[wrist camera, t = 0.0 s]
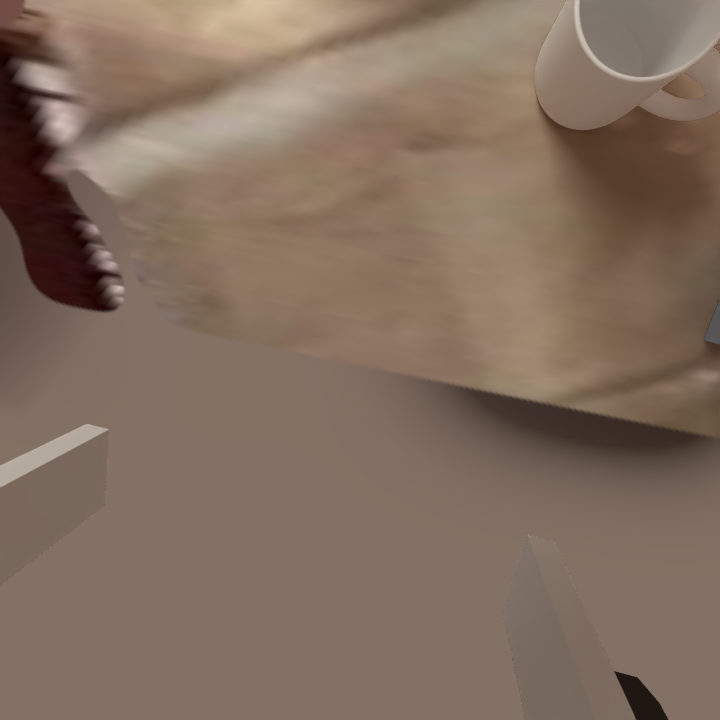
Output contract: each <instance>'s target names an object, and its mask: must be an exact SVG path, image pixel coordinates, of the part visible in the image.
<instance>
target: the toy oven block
mask: <svg viewBox="0 0 720 720" xmlns="http://www.w3.org/2000/svg"><path fill="white" fill-rule="evenodd" d="M704 340H706V341H709V342H712V343H716V344H719V345H720V300H719V302H718V305H717V308H716V310H715V313H714V315H713V318H712V320H711V323H710V326H709V328H708V331H707V333H706V336H705V339H704Z"/></svg>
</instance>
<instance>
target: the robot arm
mask: <svg viewBox="0 0 720 720" xmlns="http://www.w3.org/2000/svg"><path fill="white" fill-rule="evenodd" d="M108 435H109V430H108V429H104V428H101V427H97V426H93V425H89V424H86V425H84V426H82V427H79V428H77V429H76V430H73V431H71V432H69V433H67V434H65V435H63V436H61V437H59V438H57V439H55V440H53V441H51V442H49V443H47V444H44V445H42V446H40V447H38V448H36V449H34V450H32V451H30V452H28V453H26V454H24V455H22V456H19V457H17V458H15V459H13V460H11V461H9V462H7V463H5V464H3V465H1V466H0V585H1V584H3V583H4V582H5V581H7V580H8V579H9V578H11V577H12V576H13V575H14V574H16V573H17V572H19V571H20V570H21V569H22V568H24V567H25V566H26V565H28V564H29V563H30V562H32V561H33V560H34V559H35V558H37V557H38V556H39V555H41V554H42V553H43V552H45V551H46V550H47V549H49V548H50V547H51V546H53V545H54V544H55V543H56V542H58V541H59V540H60V539H62V538H63V537H64V536H66V535H67V534H68V533H70V532H71V531H72V530H73V529H75V528H76V527H77V526H79V525H80V524H81V523H83V522H84V521H85V520H87V519H88V518H89V517H91V516H92V515H93V514H94V513H96V512H97V511H98V510H100V509H101V508H102V507H104V506H105V491H106V473H107V454H108ZM502 613H503V619H504V623H505V627H506V632H507V637H508V642H509V646H510V651H511V655H512V660H513V664H514V669H515V674H516V678H517V683H518V688H519V692H520V697H521V702H522V706H523V711H524V715H525V720H668V718H667V716H666V714H665V713H664V711H663V709H662V707H661V705H660V704H659V702H658V701H657V700H656V699H655V697H654V696H653V695H652V694H651V693H650V692H649V690H648V689H647V688H646V687H645V686H644V685H643V684H642V682H641V681H640V680H639V679H638V678H637V677H634V676H630V675H626V674H623V673H619V672H615V671H614V670H613V668H612V666H611V664H610V662H609V659H608V657H607V655H606V653H605V650H604V648H603V646H602V644H601V642H600V640H599V638H598V635H597V633H596V631H595V629H594V627H593V624H592V622H591V620H590V618H589V615H588V613H587V611H586V609H585V607H584V605H583V603H582V600H581V598H580V596H579V594H578V591H577V590H576V587H575V585H574V583H573V581H572V578H571V576H570V574H569V572H568V570H567V568H566V565H565V563H564V561H563V559H562V556H561V554H560V552H559V550H558V548H557V546H556V543H555V541H552V540H548V539H544V538H540V537H536V536H532V535H527V537H526V540H525V543H524V546H523V550H522V553H521V556H520V559H519V562H518V565H517V568H516V571H515V574H514V577H513V581H512V584H511V587H510V590H509V593H508V596H507V599H506V602H505V605H504V608H503V612H502Z"/></svg>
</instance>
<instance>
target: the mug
mask: <svg viewBox="0 0 720 720" xmlns="http://www.w3.org/2000/svg"><path fill="white" fill-rule="evenodd" d="M719 40H720V0H566V2H565V4H564V6H563V8H562V10H561V11H560V13H559V15H558V17H557V19H556V21H555V23H554V24H553V26H552V28H551V30H550V32H549V34H548V35H547V37H546V39H545V41H544V43H543V46H542V48H541V50H540V53H539V56H538V59H537V63H536V67H535V76H534V81H535V91H536V95H537V98H538V101H539V103H540V105H541V107H542V108H543V110H544V112H545V113H546V114H547V115H548V116H549V117H550V118H551V119H552V120H553V121H555V122H556V123H558V124H560V125H562V126H564V127H566V128H570V129H575V130H591V129H596V128H600V127H603V126H606V125H608V124H610V123H612V122H614V121H616V120H618V119H619V118H621V117H622V116H624V115H625V114H627V113H628V112H630V111H631V110H633V109H634V108H635V107H637V106H639V107H641V108H643V109H644V110H646V111H648V112H650V113H652V114H654V115H656V116H659V117H662V118H665V119H669V120H675V121H694V120H699V119H703V118H706V117H708V116H710V115H713V114H714V113H716V112H718V111H719V110H720V53H719V52H718V51H717V50H716V49H715V48H714V46H715V45H716V44H717V42H718V41H719ZM682 73H686V74H687V75H689V76H690V77H692V78H693V79H694V80H696V81H697V82H698V83H699V84H700V85H701V86H702V87H703V88H704V91H705V96H703V97H700V98H697V99H683V98H678V97H675V96H673V95H670V94H668V93H667V92H665V91H663V90H662V89H661V88H663V87H664V86H665V85H667V84H668V83H669V82H671V81H672V80H674V79H675V78H676V77H678V76H679V75H681V74H682Z"/></svg>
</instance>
